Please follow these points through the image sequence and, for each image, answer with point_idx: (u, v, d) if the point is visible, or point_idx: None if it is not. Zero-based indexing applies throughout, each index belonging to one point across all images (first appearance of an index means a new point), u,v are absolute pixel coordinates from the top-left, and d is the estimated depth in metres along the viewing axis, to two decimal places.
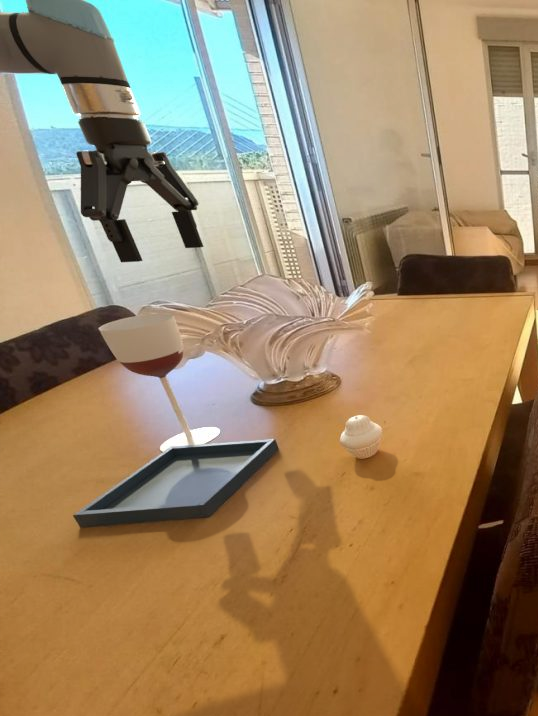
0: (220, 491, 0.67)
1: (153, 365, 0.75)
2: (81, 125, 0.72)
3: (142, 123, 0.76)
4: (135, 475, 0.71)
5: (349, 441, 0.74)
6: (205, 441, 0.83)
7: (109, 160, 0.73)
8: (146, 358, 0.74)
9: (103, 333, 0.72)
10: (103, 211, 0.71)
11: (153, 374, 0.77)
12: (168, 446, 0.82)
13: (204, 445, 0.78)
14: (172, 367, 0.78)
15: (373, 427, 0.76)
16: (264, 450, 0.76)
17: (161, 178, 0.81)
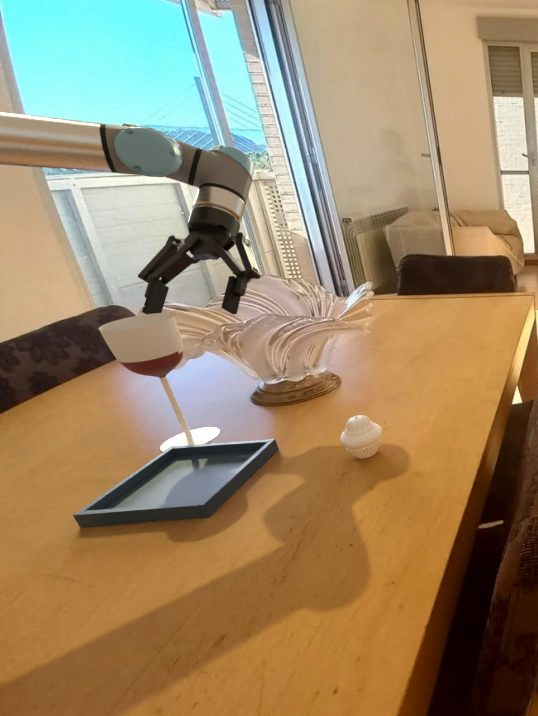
0: (220, 491, 0.67)
1: (153, 365, 0.75)
2: (225, 215, 0.91)
3: None
4: (135, 475, 0.71)
5: (349, 441, 0.74)
6: (205, 441, 0.83)
7: (234, 244, 0.92)
8: (146, 358, 0.74)
9: (103, 333, 0.72)
10: None
11: (153, 374, 0.77)
12: (168, 446, 0.82)
13: (204, 445, 0.78)
14: (172, 367, 0.78)
15: (373, 427, 0.76)
16: (264, 450, 0.76)
17: (196, 261, 0.91)
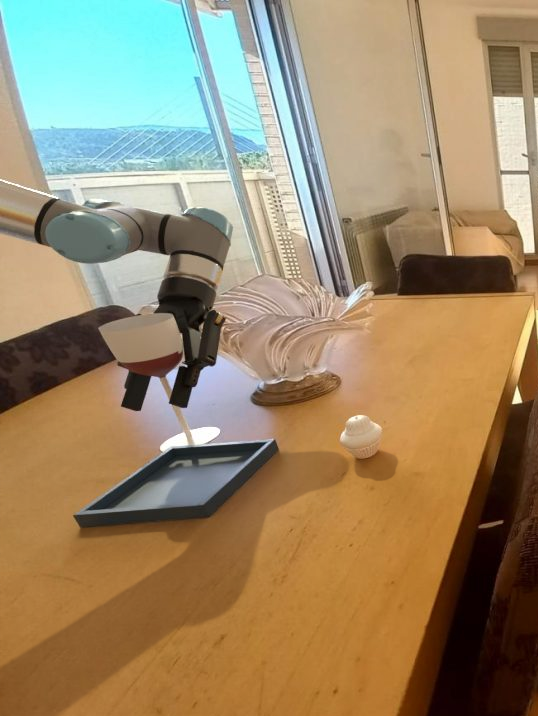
0: (220, 491, 0.67)
1: (153, 365, 0.75)
2: (199, 285, 0.84)
3: None
4: (135, 475, 0.71)
5: (349, 441, 0.74)
6: (205, 441, 0.83)
7: None
8: (146, 358, 0.74)
9: (103, 333, 0.72)
10: None
11: (153, 374, 0.77)
12: (168, 446, 0.82)
13: (204, 445, 0.78)
14: (172, 367, 0.78)
15: (373, 427, 0.76)
16: (264, 450, 0.76)
17: None
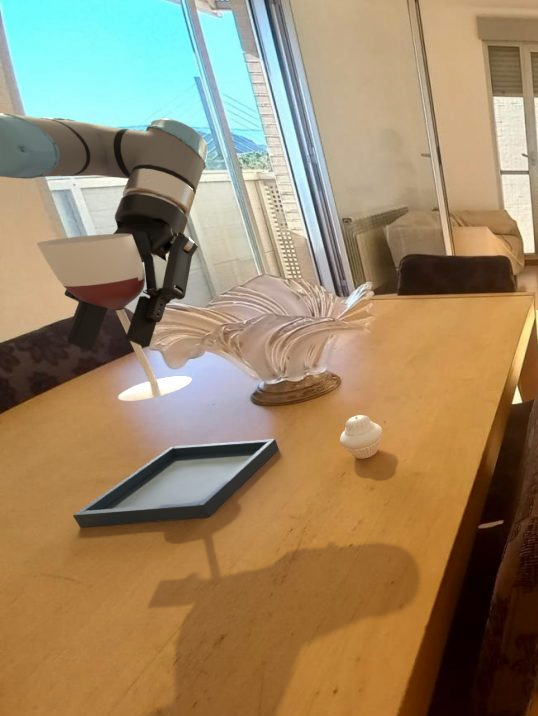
0: (220, 491, 0.67)
1: (105, 291, 0.62)
2: (165, 205, 0.71)
3: None
4: (135, 475, 0.71)
5: (349, 441, 0.74)
6: (172, 390, 0.70)
7: None
8: (96, 281, 0.61)
9: (42, 248, 0.59)
10: None
11: (107, 303, 0.63)
12: (128, 394, 0.69)
13: (204, 445, 0.78)
14: (130, 297, 0.65)
15: (373, 427, 0.76)
16: (264, 450, 0.76)
17: None
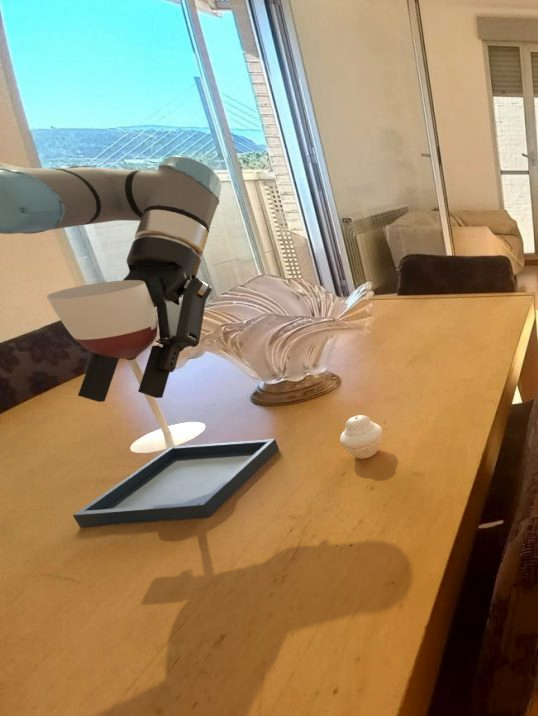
0: (220, 491, 0.67)
1: (117, 343, 0.60)
2: (179, 247, 0.69)
3: None
4: (135, 475, 0.71)
5: (349, 441, 0.74)
6: (186, 439, 0.68)
7: None
8: (108, 334, 0.59)
9: (52, 301, 0.56)
10: None
11: (119, 355, 0.61)
12: (140, 445, 0.66)
13: (204, 445, 0.78)
14: (143, 347, 0.63)
15: (373, 427, 0.76)
16: (264, 450, 0.76)
17: None
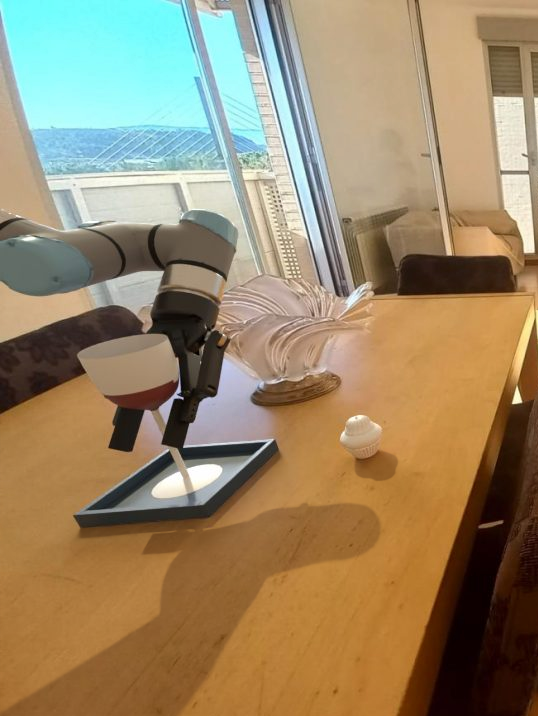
0: (220, 491, 0.67)
1: (142, 398, 0.63)
2: (199, 300, 0.72)
3: None
4: (135, 475, 0.71)
5: (349, 441, 0.74)
6: (205, 484, 0.71)
7: None
8: (134, 390, 0.62)
9: (82, 361, 0.59)
10: None
11: (143, 408, 0.64)
12: (161, 490, 0.69)
13: (204, 445, 0.78)
14: (166, 399, 0.66)
15: (373, 427, 0.76)
16: (264, 450, 0.76)
17: None
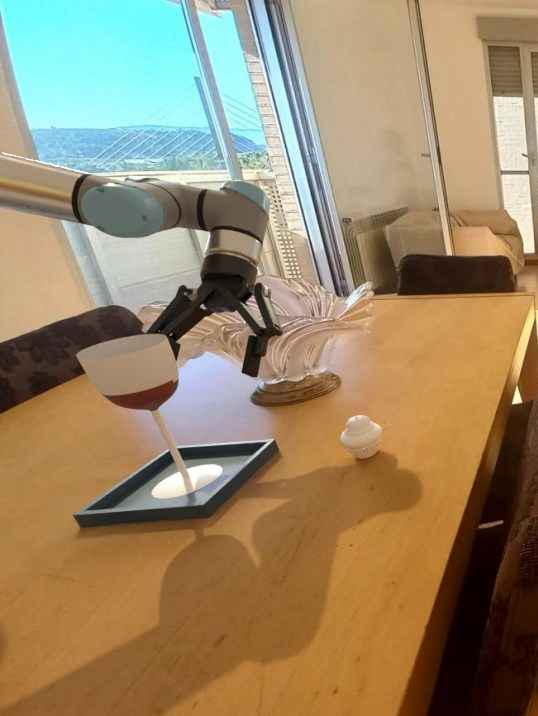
0: (220, 491, 0.67)
1: (142, 398, 0.63)
2: (242, 262, 0.82)
3: None
4: (135, 475, 0.71)
5: (349, 441, 0.74)
6: (204, 484, 0.71)
7: None
8: (134, 390, 0.62)
9: (81, 361, 0.59)
10: None
11: (143, 408, 0.64)
12: (161, 490, 0.69)
13: (204, 445, 0.78)
14: (165, 399, 0.66)
15: (373, 427, 0.76)
16: (264, 450, 0.76)
17: None
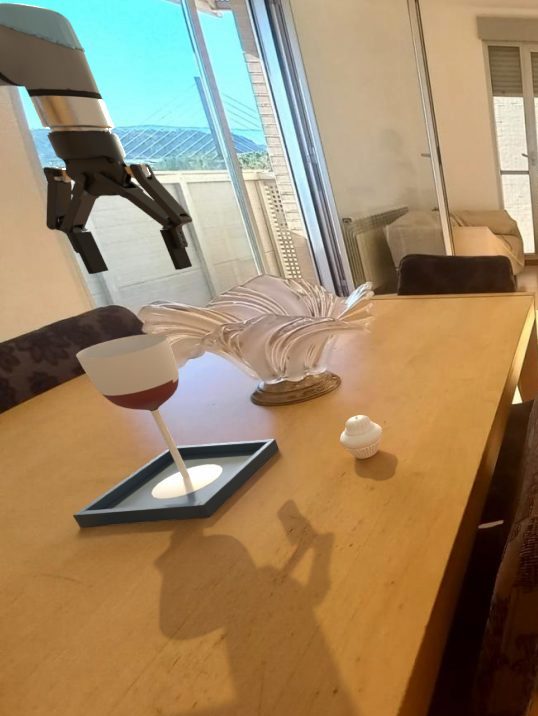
0: (220, 491, 0.67)
1: (142, 398, 0.63)
2: (96, 138, 0.71)
3: None
4: (135, 475, 0.71)
5: (349, 441, 0.74)
6: (204, 484, 0.71)
7: None
8: (134, 390, 0.62)
9: (81, 361, 0.59)
10: None
11: (143, 408, 0.64)
12: (161, 490, 0.69)
13: (204, 445, 0.78)
14: (165, 399, 0.66)
15: (373, 427, 0.76)
16: (264, 450, 0.76)
17: None
